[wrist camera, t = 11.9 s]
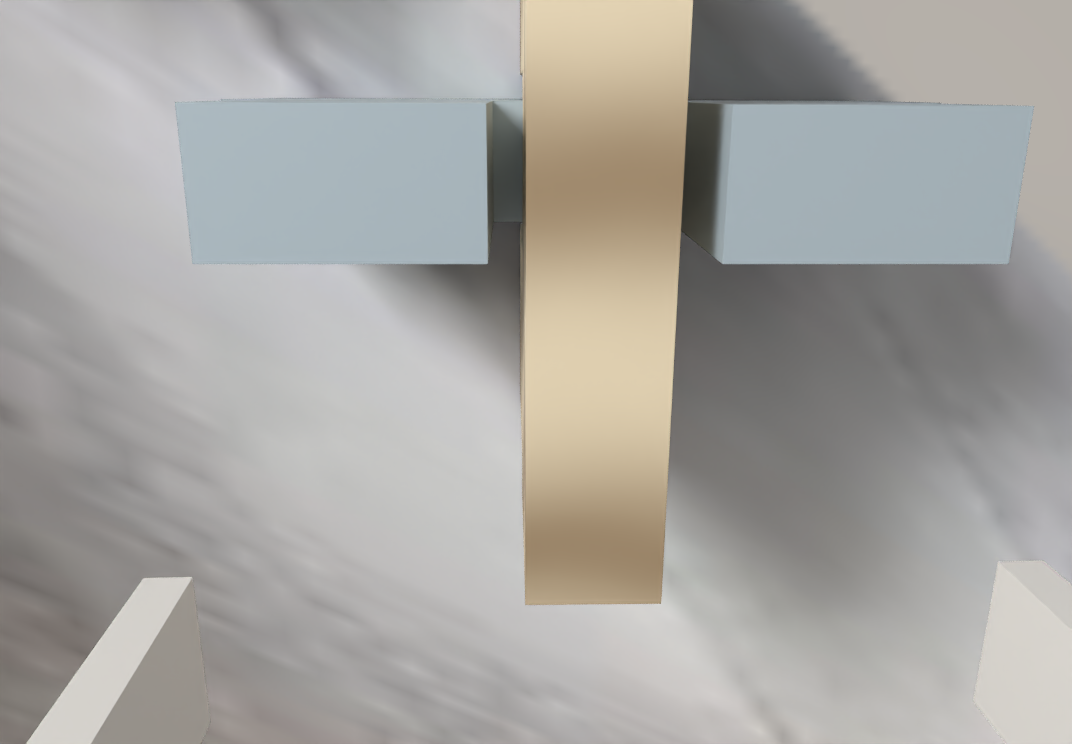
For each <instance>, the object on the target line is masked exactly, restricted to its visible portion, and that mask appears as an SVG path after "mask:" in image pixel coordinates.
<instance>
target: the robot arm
mask: <svg viewBox="0 0 1072 744" xmlns="http://www.w3.org/2000/svg"><path fill="white" fill-rule="evenodd" d="M973 702H974V704H975V705H976V706H977V707H978V709H979V710H980V711H981V713H982V714H983V715H984V716H985V718H986V719H987V720H988V722H989V723H990V724H991V725H992V727H993V728H994V729H995V731H996V732H997V733H998V734H999V736H1000V737H1001V738H1002V739H1003V741H1004V742H1005V743H1006V744H1072V585H1071V584H1070V583H1069V582H1068V581H1066V580H1065V579H1064V578H1063V577H1062V576H1061V575H1059V574H1058V573H1057V572H1056V571H1055V570H1054V569H1053V568H1051V567H1050V566H1049V565H1048V564H1047V563H1046V562H1044V561H1043V560H1042V561H998V565H997V571H996V576H995V582H994V587H993V593H992V598H991V604H990V610H989V615H988V621H987V626H986V632H985V637H984V643H983V648H982V654H981V659H980V665H979V670H978V676H977V682H976V687H975V693H974V698H973ZM210 723H211V720H210V712H209V704H208V696H207V688H206V680H205V672H204V664H203V656H202V648H201V640H200V632H199V624H198V616H197V608H196V600H195V592H194V584H193V577H167V578H143V579H142V581H141V582H140V584H139V585H138V586H137V588H136V589H135V591H134V592H133V594H132V595H131V596H130V598H129V599H128V601H127V602H126V603H125V605H124V606H123V608H122V609H121V610H120V612H119V613H118V615H117V616H116V617H115V619H114V620H113V622H112V623H111V625H110V626H109V627H108V629H107V630H106V632H105V633H104V634H103V636H102V637H101V639H100V640H99V641H98V643H97V644H96V646H95V647H94V649H93V650H92V651H91V653H90V654H89V656H88V657H87V658H86V660H85V661H84V663H83V664H82V665H81V667H80V668H79V670H78V671H77V672H76V674H75V675H74V677H73V678H72V680H71V681H70V682H69V684H68V685H67V687H66V688H65V689H64V691H63V692H62V694H61V695H60V696H59V698H58V699H57V701H56V702H55V703H54V705H53V706H52V708H51V709H50V711H49V712H48V713H47V715H46V716H45V718H44V719H43V720H42V722H41V723H40V725H39V726H38V727H37V729H36V730H35V732H34V733H33V735H32V736H31V737H30V739H29V740H28V742H27V743H26V744H201V743H202V741H203V738H204V736H205V734H206V732H207V729H208V727H209V725H210Z"/></svg>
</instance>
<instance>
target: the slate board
mask: <svg viewBox="0 0 1072 744" xmlns="http://www.w3.org/2000/svg"><path fill="white" fill-rule="evenodd" d="M175 107H176V116H177V126H178V135H179V144H180V153H181V162H182V171H183V180H184V189H185V199H186V208H187V217H188V226H189V235H190V244H191V253H192V263H193V264H488V259H489V252H490V245H491V237H492V230H493V223H494V222H522V189H523V99H365V98H263V99H221V101H195V102H175ZM1033 110H1034V106H1011V105H971V104H970V105H969V104H941V103H923V102H881V101H779V100H688V106H687V125H686V143H685V162H684V181H683V200H682V219H681V231H682V232H683V233H685V234H686V235H687V236H688V237H690V238H691V239H692V240H693V241H695V242H696V243H697V244H698V245H700V246H701V247H702V248H703V249H704V250H706V251H707V252H708V253H709V254H711V255H712V256H713V257H714V258H716V259H717V260H718V261H719V262H720V263H722V264H1009V258H1010V252H1011V246H1012V240H1013V234H1014V227H1015V221H1016V215H1017V209H1018V203H1019V197H1020V190H1021V184H1022V178H1023V172H1024V166H1025V159H1026V153H1027V147H1028V140H1029V135H1030V129H1031V122H1032V116H1033Z"/></svg>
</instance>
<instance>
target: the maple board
mask: <svg viewBox="0 0 1072 744" xmlns="http://www.w3.org/2000/svg"><path fill="white" fill-rule="evenodd" d="M692 12H693V0H520V75H523V189H522V224H520V399H521V432H522V500H523V536H524V573H525V605H566V604H661V596H662V577H663V558H664V539H665V520H666V502H667V483H668V464H669V445H670V426H671V407H672V388H673V370H674V351H675V332H676V313H677V294H678V275H679V257H680V238H681V219H682V200H683V181H684V162H685V143H686V125H687V106H688V87H689V68H690V49H691V30H692Z"/></svg>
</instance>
